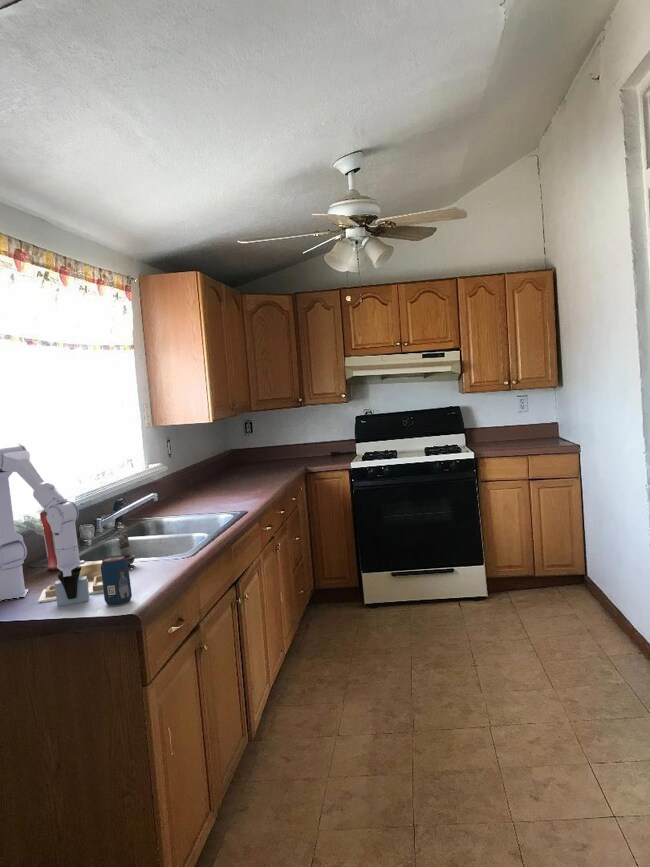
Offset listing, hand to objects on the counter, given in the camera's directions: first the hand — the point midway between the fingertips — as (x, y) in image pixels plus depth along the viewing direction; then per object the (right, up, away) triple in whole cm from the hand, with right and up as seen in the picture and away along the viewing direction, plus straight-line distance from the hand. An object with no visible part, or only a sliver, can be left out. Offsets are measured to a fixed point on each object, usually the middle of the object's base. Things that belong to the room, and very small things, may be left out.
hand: (72, 596), depth 193 cm
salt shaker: (+5, +1, +34) cm, 34 cm away
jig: (-2, -1, +11) cm, 11 cm away
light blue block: (0, -1, 0) cm, 1 cm away
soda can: (+14, -1, -5) cm, 15 cm away
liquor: (-20, -1, +43) cm, 48 cm away
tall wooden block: (-2, 0, +23) cm, 23 cm away
